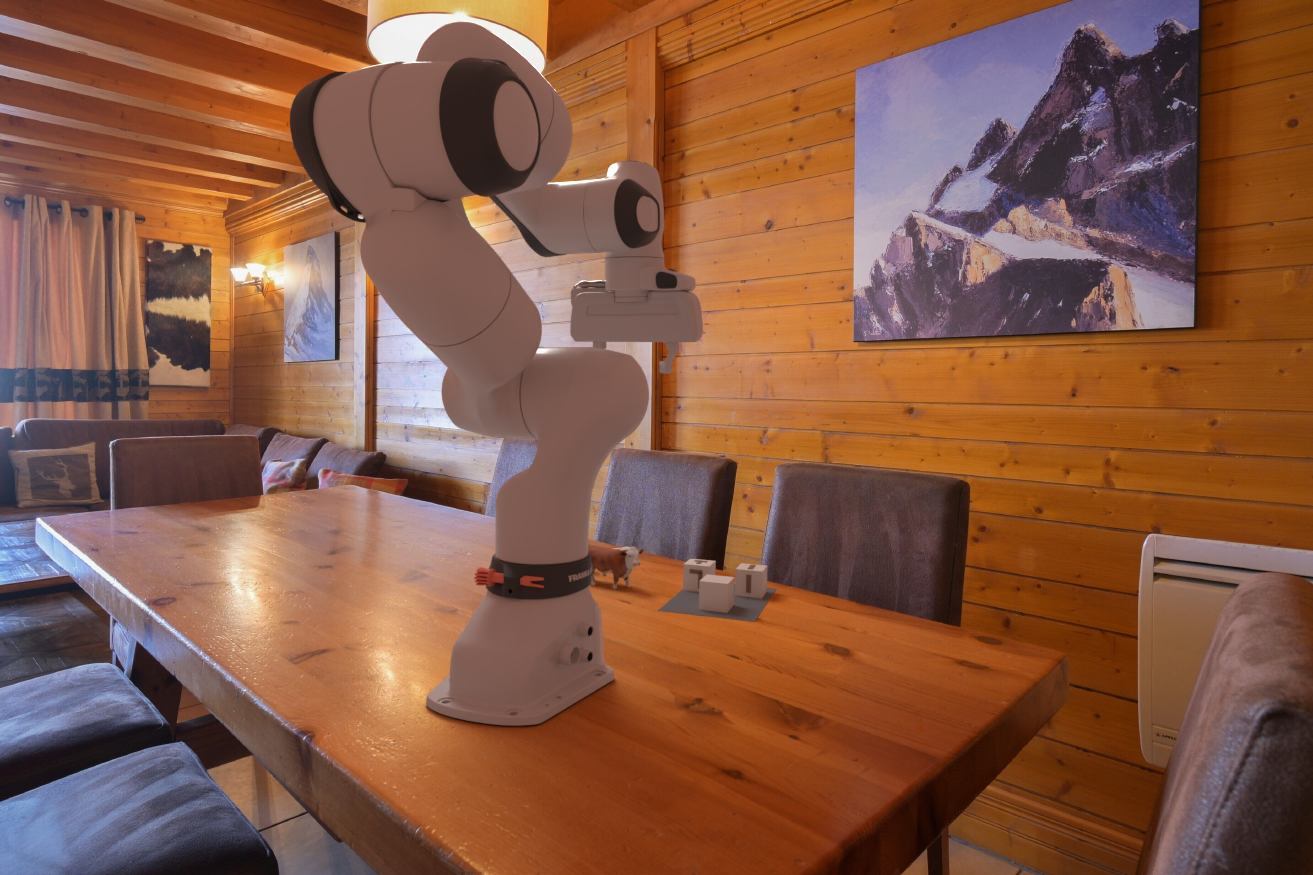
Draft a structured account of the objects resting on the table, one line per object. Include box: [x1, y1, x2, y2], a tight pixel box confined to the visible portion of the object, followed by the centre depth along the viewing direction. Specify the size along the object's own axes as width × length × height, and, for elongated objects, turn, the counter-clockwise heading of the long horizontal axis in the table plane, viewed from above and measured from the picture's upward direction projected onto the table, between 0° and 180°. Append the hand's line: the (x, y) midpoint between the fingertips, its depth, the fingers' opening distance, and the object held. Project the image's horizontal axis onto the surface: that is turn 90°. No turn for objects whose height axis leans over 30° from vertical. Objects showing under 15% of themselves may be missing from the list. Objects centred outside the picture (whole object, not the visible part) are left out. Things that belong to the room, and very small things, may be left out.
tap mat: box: [657, 583, 777, 623], centre depth 120 cm, size 20×15×1 cm
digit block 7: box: [682, 558, 717, 592], centre depth 126 cm, size 5×4×5 cm
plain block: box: [699, 574, 735, 613], centre depth 115 cm, size 4×4×4 cm
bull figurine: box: [588, 543, 644, 590], centre depth 127 cm, size 4×13×8 cm, turn 53°
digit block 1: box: [734, 562, 768, 599], centre depth 124 cm, size 5×4×5 cm
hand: (636, 372), depth 112 cm, fingers open, 8 cm apart
